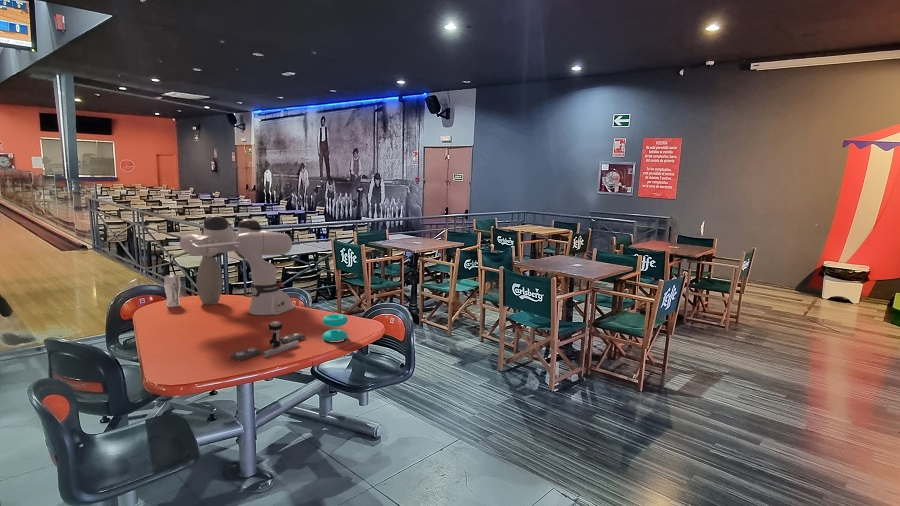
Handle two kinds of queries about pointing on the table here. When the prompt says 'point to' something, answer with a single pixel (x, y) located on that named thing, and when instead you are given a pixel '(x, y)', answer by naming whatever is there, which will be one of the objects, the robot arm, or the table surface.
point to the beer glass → (172, 290)
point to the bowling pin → (209, 280)
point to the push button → (275, 333)
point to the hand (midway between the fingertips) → (228, 250)
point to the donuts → (335, 321)
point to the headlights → (289, 343)
